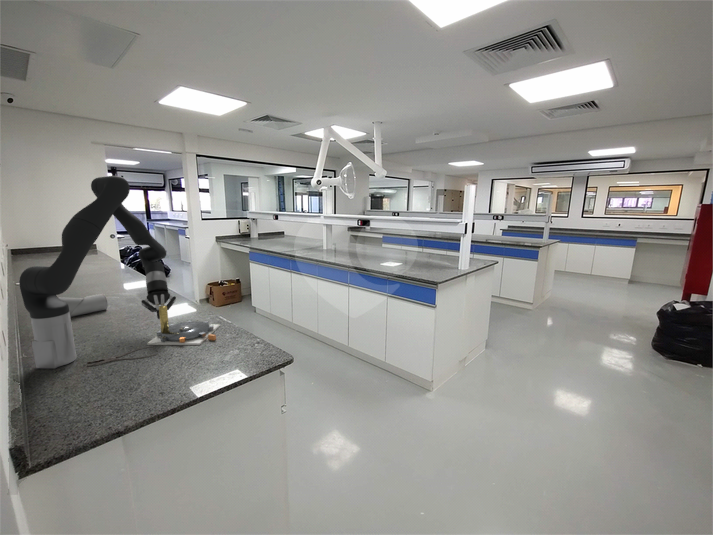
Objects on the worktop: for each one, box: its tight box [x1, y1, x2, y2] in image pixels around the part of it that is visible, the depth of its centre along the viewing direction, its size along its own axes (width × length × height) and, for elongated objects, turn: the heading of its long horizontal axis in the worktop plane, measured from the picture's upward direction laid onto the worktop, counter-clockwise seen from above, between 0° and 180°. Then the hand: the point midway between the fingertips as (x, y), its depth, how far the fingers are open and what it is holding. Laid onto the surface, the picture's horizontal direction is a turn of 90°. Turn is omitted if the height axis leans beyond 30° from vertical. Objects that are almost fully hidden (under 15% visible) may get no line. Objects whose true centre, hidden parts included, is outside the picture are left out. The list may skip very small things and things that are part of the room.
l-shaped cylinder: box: [57, 293, 109, 318], centre depth 151 cm, size 18×11×20 cm
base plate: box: [147, 323, 221, 346], centre depth 129 cm, size 20×24×2 cm
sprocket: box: [156, 304, 214, 343], centre depth 128 cm, size 21×21×12 cm
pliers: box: [86, 345, 157, 368], centre depth 108 cm, size 10×1×20 cm
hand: (161, 319), depth 125 cm, fingers closed
